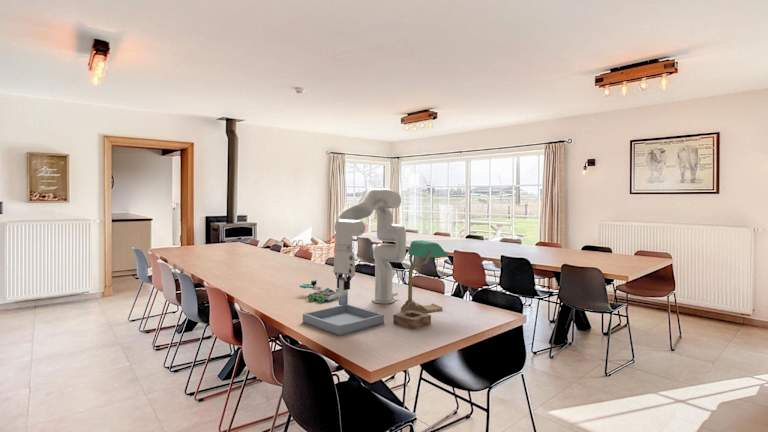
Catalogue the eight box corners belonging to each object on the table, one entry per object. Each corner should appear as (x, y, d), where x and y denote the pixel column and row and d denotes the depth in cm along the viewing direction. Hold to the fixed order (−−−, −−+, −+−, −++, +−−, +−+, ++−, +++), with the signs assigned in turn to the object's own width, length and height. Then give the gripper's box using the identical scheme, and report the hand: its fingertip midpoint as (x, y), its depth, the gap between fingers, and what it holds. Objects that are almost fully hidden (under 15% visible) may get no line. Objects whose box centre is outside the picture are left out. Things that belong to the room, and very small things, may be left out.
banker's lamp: (397, 309, 218) (398, 240, 216) (431, 304, 227) (432, 239, 226) (413, 316, 204) (414, 244, 202) (448, 312, 213) (450, 242, 212)
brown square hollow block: (410, 318, 201) (410, 309, 201) (430, 323, 193) (430, 315, 193) (393, 323, 193) (393, 314, 193) (413, 329, 184) (413, 320, 184)
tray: (346, 311, 211) (346, 303, 211) (384, 323, 193) (384, 314, 192) (302, 322, 192) (302, 313, 192) (339, 336, 174) (339, 326, 174)
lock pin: (343, 302, 195) (344, 276, 194) (349, 304, 192) (349, 277, 191) (336, 304, 192) (337, 277, 191) (342, 305, 189) (342, 279, 189)
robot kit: (309, 292, 254) (310, 276, 254) (345, 297, 243) (345, 280, 243) (289, 298, 238) (290, 282, 237) (327, 304, 227) (327, 286, 226)
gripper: (362, 249, 188) (362, 290, 188) (338, 246, 200) (338, 284, 200) (349, 250, 182) (349, 292, 183) (325, 247, 194) (325, 286, 195)
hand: (343, 288), depth 192 cm, fingers closed on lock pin, 4 cm apart
